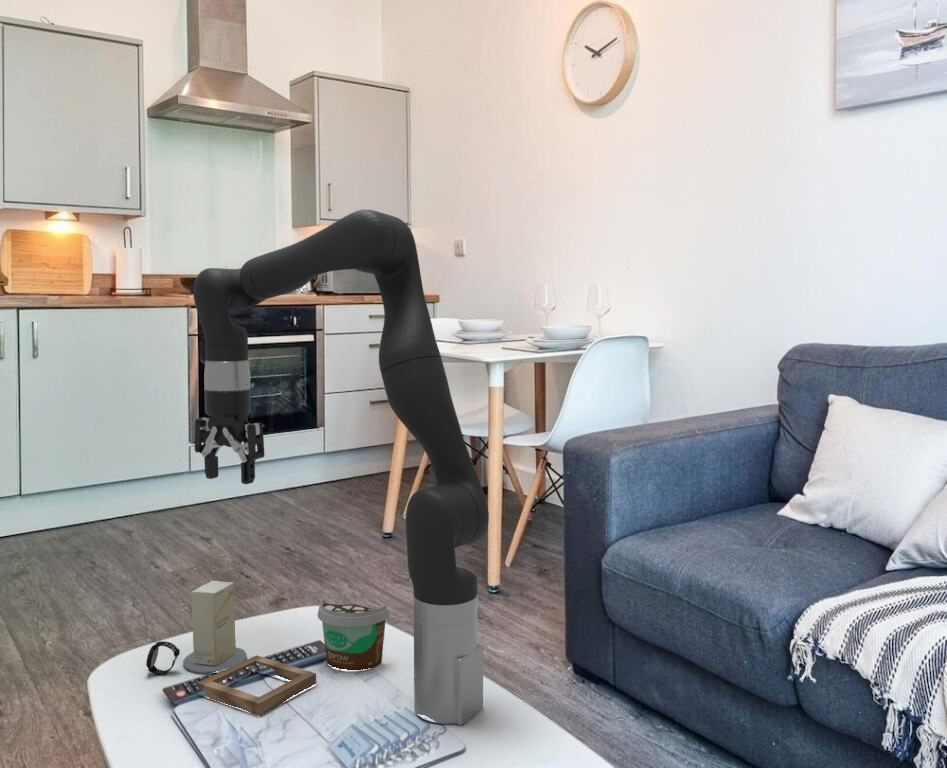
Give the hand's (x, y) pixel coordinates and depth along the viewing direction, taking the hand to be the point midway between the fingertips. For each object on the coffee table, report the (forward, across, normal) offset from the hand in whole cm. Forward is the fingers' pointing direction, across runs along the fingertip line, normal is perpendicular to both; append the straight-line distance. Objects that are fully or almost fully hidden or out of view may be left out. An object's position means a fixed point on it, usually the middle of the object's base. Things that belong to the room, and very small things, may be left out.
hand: (229, 480), depth 148 cm
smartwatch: (+29, 0, +15) cm, 33 cm away
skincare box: (+28, -4, +7) cm, 29 cm away
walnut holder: (+29, -17, +12) cm, 35 cm away
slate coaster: (+29, -4, +7) cm, 30 cm away
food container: (+29, -24, -2) cm, 37 cm away
